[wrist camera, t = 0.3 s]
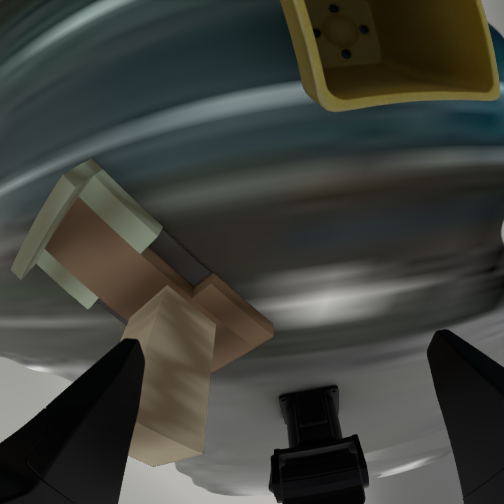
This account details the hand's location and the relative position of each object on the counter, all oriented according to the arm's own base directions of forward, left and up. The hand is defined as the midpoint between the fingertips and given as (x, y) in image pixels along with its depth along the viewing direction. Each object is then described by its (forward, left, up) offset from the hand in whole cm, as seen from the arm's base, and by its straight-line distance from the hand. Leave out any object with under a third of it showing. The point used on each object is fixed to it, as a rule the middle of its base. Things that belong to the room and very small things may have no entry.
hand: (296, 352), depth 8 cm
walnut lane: (-6, +11, -14) cm, 18 cm away
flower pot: (+10, -6, -14) cm, 18 cm away
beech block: (-8, +9, -12) cm, 17 cm away
